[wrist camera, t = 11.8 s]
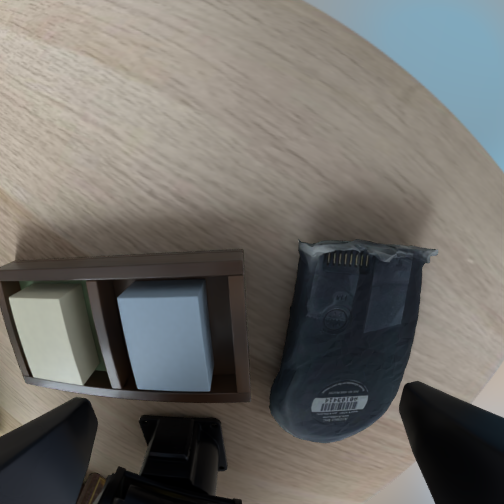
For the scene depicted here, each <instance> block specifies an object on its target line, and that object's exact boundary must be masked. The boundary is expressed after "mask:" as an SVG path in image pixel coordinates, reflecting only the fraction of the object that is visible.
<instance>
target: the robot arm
mask: <svg viewBox="0 0 504 504" xmlns="http://www.w3.org/2000/svg"><path fill="white" fill-rule="evenodd" d="M399 412H400V415H401V418H402V421H403V424H404V427H405V430H406V433H407V436H408V439H409V443H410V446H411V449H412V452H413V454H414V456H415V459H416V461H417V463H418V465H419V467H420V470H421V472H422V474H423V477H424V479H425V481H426V483H427V485H428V488H429V490H430V492H431V495H432V497H433V499H434V502H435V504H504V418H503V417H500V416H498V415H495V414H493V413H491V412H488V411H486V410H483V409H481V408H479V407H476V406H474V405H472V404H469V403H467V402H465V401H462V400H460V399H458V398H455V397H453V396H451V395H449V394H446V393H444V392H442V391H440V390H437V389H435V388H433V387H431V386H428V385H426V384H424V383H422V382H419V381H415V382H411V383H407V384H405V386H404V388H403V392H402V396H401V400H400V404H399ZM145 421H147V422H145ZM139 423H140V426H141V429H142V432H143V435H144V438H145V440H146V443H147V446H148V448H147V451H146V454H145V457H144V460H143V463H142V466H141V469H140V472H139V475H138V474H135V473H132V472H130V471H127V470H126V469H125V468H122V467H120V466H119V467H118V469H117V471H116V473H115V474H114V473H112V475H108V477H107V479H106V482H105V484H104V486H103V489H102V491H101V492H100V494H99V495H98V497H97V498H96V500H95V501H94V502H93V504H242V500H241V499H235V498H233V499H229V498H224V497H218V496H216V486H217V474H218V471H225V470H227V459H226V453H225V446H224V440H223V433H222V427H221V422H220V420H218V419H216V418H179V417H161V416H147V415H143V416H141V417H140V420H139ZM213 424H216V425H213ZM97 427H98V421H97V418H96V415H95V413H94V410H93V408H92V405H91V403H90V401H89V400H88V399H86V398H79V397H75V398H73V399H71V400H70V401H68V402H66V403H64V404H62V405H60V406H58V407H57V408H55V409H53V410H51V411H49V412H47V413H45V414H44V415H42V416H40V417H38V418H36V419H34V420H32V421H30V422H28V423H26V424H24V425H23V426H21V427H19V428H17V429H15V430H13V431H11V432H9V433H7V434H5V435H3V436H1V437H0V504H76V502H77V499H78V496H79V492H80V489H81V486H82V483H83V480H84V478H85V475H86V472H87V468H88V465H89V461H90V457H91V453H92V448H93V444H94V440H95V435H96V431H97Z"/></svg>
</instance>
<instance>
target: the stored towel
mask: <svg viewBox="0 0 504 504" xmlns="http://www.w3.org/2000/svg"><path fill="white" fill-rule="evenodd" d="M117 301H118V306H119V311H120V317H121V322H122V327H123V331H124V336H125V340H126V345H127V349H128V353H129V358H130V362H131V366H132V370H133V374H134V377H135V381H136V385H137V388H138V389H145V390H163V391H210V388H211V382H212V376H213V369H214V359H213V350H212V341H211V332H210V323H209V313H208V303H207V293H206V282H205V279H194V280H166V281H135V282H133V283H132V284H131V285H130V286H129V287H128V288H127V289H126V290H125V291H124V292H123V293H122V294H121V295H120V296H119V297H117Z"/></svg>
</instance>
